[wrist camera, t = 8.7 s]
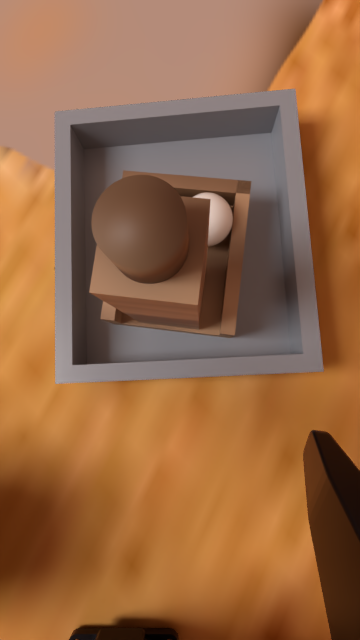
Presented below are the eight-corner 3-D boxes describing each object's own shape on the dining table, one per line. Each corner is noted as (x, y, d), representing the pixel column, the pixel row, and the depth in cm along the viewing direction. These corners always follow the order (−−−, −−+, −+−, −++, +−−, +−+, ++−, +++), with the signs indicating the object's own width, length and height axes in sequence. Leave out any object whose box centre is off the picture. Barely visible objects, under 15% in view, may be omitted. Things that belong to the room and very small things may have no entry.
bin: (305, 369, 21) (323, 371, 18) (75, 380, 21) (55, 383, 18) (282, 124, 23) (295, 88, 20) (73, 142, 23) (54, 111, 20)
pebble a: (235, 245, 20) (250, 211, 17) (194, 264, 19) (203, 231, 16) (209, 211, 21) (219, 173, 18) (169, 227, 20) (173, 190, 17)
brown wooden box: (230, 338, 20) (273, 308, 8) (113, 323, 21) (-9, 277, 9) (244, 203, 21) (304, -3, 9) (133, 194, 22) (47, -13, 10)
